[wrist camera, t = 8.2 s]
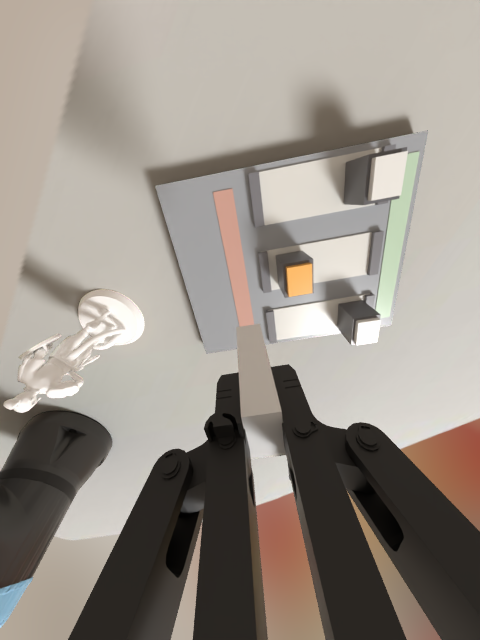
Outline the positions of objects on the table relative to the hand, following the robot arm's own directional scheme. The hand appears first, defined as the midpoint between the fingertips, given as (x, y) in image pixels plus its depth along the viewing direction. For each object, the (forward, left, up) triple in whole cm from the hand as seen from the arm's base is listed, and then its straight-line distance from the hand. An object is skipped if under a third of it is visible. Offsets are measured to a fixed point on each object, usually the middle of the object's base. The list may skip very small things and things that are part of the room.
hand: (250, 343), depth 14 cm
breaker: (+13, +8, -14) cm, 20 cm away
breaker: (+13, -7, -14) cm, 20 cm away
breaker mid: (+6, 0, -14) cm, 15 cm away
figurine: (-19, -3, -16) cm, 25 cm away
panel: (+6, 0, -16) cm, 17 cm away
